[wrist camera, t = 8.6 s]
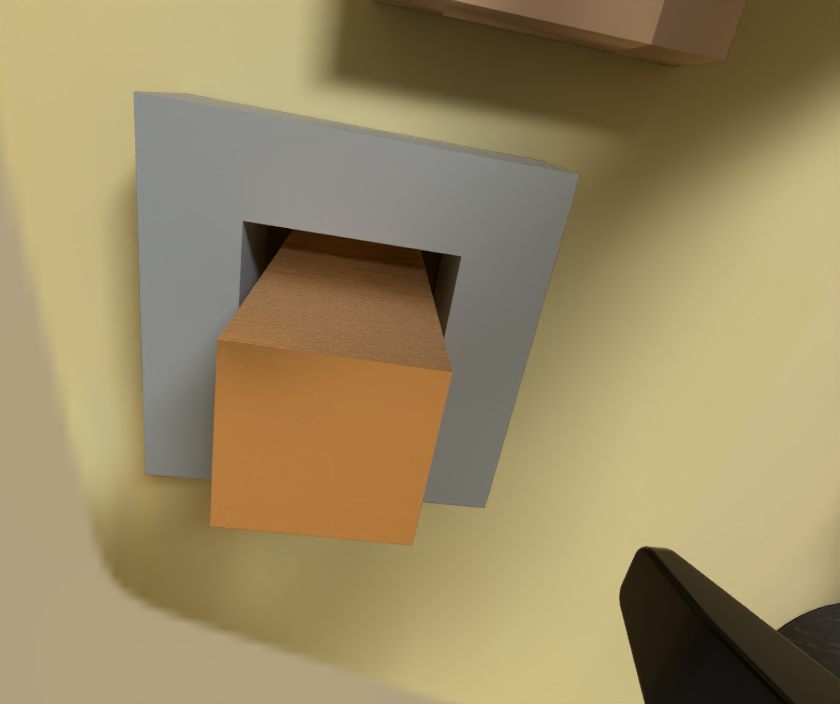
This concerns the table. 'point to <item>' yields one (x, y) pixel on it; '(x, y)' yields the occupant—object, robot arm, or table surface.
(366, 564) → the table surface
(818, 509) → the table surface
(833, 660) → the travel mug
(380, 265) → the peg
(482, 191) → the socket
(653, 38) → the mount
